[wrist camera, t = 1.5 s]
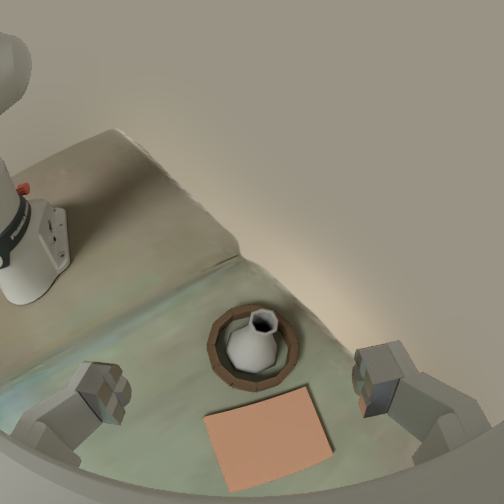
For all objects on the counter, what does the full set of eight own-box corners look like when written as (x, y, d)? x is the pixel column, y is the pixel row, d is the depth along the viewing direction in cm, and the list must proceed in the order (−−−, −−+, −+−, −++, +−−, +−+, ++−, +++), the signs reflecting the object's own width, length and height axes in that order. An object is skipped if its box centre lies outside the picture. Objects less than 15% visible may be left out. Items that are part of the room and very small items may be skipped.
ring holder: (199, 321, 39) (198, 315, 37) (276, 303, 42) (279, 297, 41) (222, 401, 32) (223, 399, 30) (306, 375, 35) (311, 372, 34)
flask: (223, 328, 39) (226, 294, 31) (272, 324, 40) (289, 290, 32) (228, 377, 34) (234, 356, 26) (281, 371, 36) (303, 348, 28)
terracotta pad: (203, 417, 30) (203, 416, 30) (303, 387, 34) (305, 386, 34) (229, 491, 24) (230, 492, 24) (331, 455, 28) (333, 455, 28)
